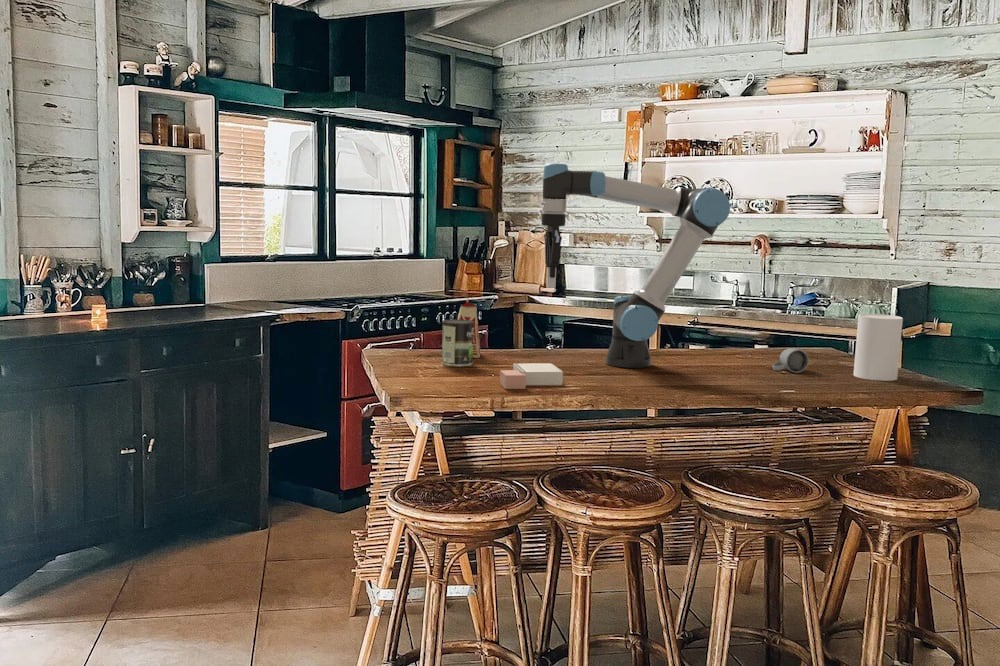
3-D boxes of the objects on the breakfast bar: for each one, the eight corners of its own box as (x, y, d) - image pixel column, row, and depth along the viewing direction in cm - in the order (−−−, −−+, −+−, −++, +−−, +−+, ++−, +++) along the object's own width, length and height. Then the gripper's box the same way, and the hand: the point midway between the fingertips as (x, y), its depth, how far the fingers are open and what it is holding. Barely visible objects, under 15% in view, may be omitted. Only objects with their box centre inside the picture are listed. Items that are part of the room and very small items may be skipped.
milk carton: (479, 357, 335) (481, 299, 332) (452, 356, 335) (454, 298, 332) (480, 353, 344) (482, 296, 341) (454, 352, 344) (455, 295, 341)
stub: (519, 383, 292) (520, 369, 291) (525, 388, 284) (526, 374, 283) (499, 383, 290) (500, 369, 290) (505, 389, 283) (505, 374, 282)
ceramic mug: (798, 368, 334) (799, 346, 333) (808, 372, 326) (809, 350, 325) (768, 368, 333) (769, 346, 332) (777, 373, 325) (778, 350, 324)
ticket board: (550, 376, 305) (551, 362, 305) (562, 385, 292) (562, 371, 291) (513, 376, 303) (513, 362, 302) (522, 385, 289) (523, 371, 289)
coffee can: (475, 362, 326) (477, 320, 324) (468, 367, 316) (470, 324, 314) (445, 360, 328) (446, 318, 326) (437, 365, 318) (438, 322, 316)
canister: (844, 373, 327) (849, 314, 324) (875, 372, 332) (880, 313, 329) (874, 381, 314) (880, 319, 312) (906, 379, 320) (912, 318, 317)
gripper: (537, 212, 316) (534, 285, 319) (547, 213, 303) (544, 289, 307) (560, 212, 317) (557, 285, 321) (570, 214, 305) (567, 289, 308)
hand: (550, 287), depth 314 cm, fingers closed
